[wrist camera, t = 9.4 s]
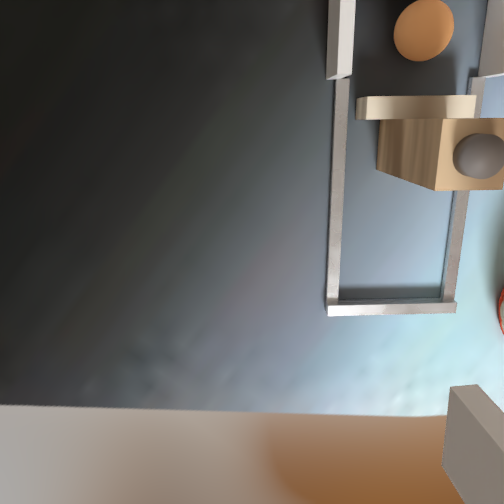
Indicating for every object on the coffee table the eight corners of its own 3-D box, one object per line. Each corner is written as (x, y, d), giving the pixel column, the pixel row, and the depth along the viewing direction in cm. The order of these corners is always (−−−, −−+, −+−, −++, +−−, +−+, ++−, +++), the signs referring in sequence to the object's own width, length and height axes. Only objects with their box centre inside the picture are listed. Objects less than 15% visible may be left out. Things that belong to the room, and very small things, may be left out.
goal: (325, 79, 33) (337, 74, 29) (329, -16, 31) (341, -35, 27) (490, 77, 33) (522, 71, 29) (504, -18, 31) (540, -37, 27)
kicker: (352, 169, 35) (408, 194, 23) (356, 98, 33) (419, 86, 22) (447, 168, 35) (550, 192, 23) (456, 97, 33) (571, 85, 22)
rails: (325, 310, 39) (327, 316, 38) (334, 79, 33) (338, 78, 32) (449, 307, 39) (455, 312, 38) (481, 77, 33) (490, 76, 32)
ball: (389, 2, 31) (383, 62, 33) (409, -7, 27) (401, 61, 29) (443, 2, 31) (434, 61, 33) (470, -7, 27) (458, 60, 29)
